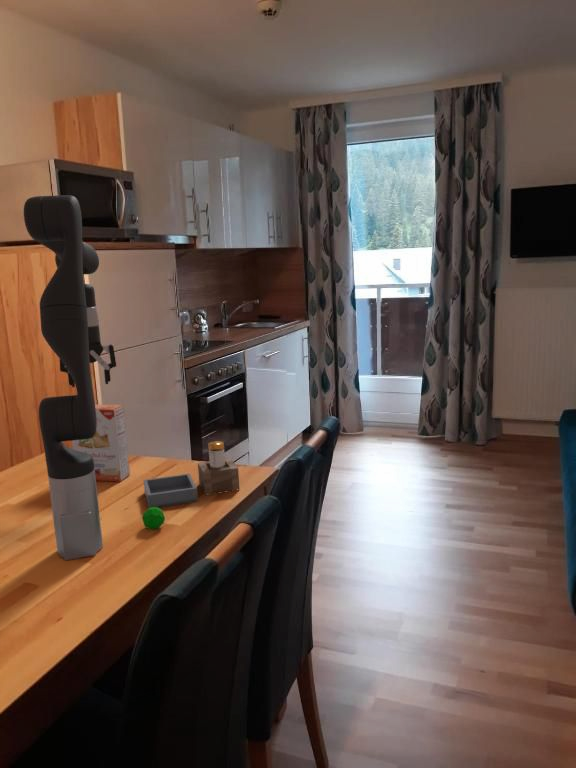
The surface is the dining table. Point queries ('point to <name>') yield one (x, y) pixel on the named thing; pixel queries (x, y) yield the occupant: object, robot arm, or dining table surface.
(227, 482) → the wooden crate
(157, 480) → the slate tray
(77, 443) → the cracker box
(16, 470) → the dining table surface
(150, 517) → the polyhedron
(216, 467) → the gold capped jar
